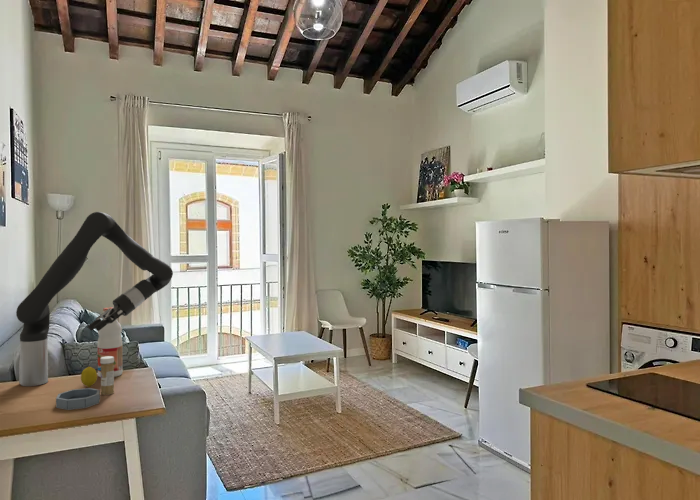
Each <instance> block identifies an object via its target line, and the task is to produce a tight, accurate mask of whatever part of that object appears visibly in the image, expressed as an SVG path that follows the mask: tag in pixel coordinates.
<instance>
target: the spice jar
mask: <svg viewBox="0 0 700 500" xmlns="http://www.w3.org/2000/svg"><path fill="white" fill-rule="evenodd" d="M100 363H101V377H100V395H102V396H108V395H113V394H114V393H115V390H114V388H115V387H114V384H115V377H114V357H113V356H105V357H101V358H100Z"/></svg>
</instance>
